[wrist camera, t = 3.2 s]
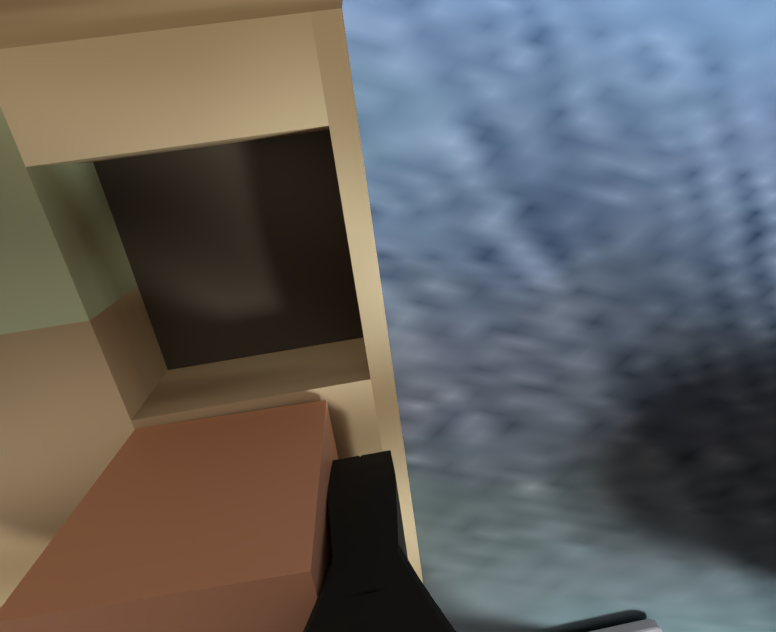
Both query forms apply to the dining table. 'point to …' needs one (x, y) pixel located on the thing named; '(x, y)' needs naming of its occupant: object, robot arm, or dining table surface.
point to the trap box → (178, 240)
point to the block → (193, 532)
